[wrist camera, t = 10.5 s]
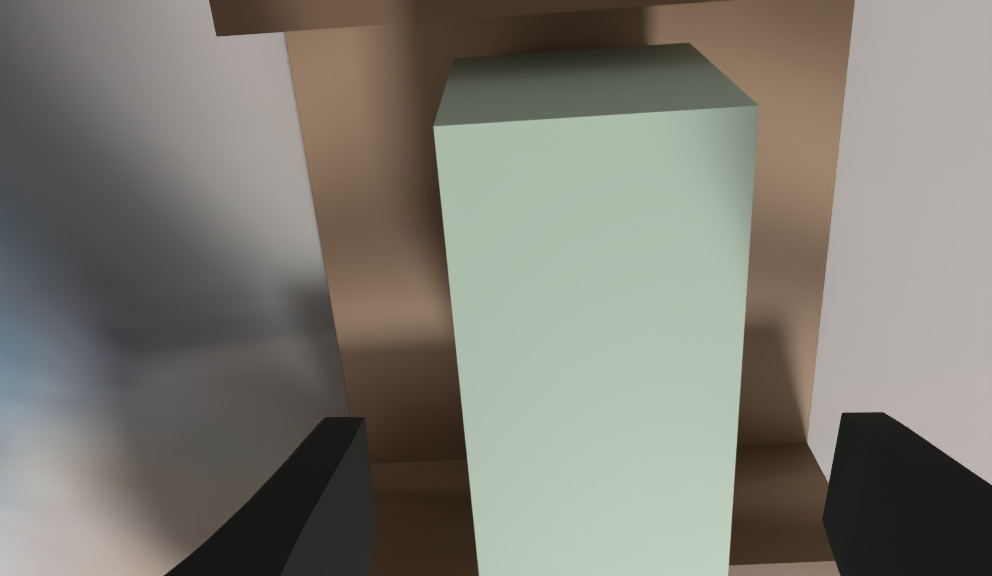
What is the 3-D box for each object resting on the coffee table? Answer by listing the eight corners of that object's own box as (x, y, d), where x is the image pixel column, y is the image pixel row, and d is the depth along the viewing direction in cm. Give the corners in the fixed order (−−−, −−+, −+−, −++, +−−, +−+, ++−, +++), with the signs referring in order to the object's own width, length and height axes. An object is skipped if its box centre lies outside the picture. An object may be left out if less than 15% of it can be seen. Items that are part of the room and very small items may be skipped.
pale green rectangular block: (453, 58, 16) (433, 126, 12) (688, 42, 16) (758, 105, 12) (490, 475, 21) (486, 642, 16) (676, 467, 21) (723, 632, 16)
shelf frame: (789, 460, 24) (861, 609, 19) (372, 480, 25) (338, 631, 20) (846, -121, 18) (975, -120, 13) (280, -78, 18) (196, -62, 13)
